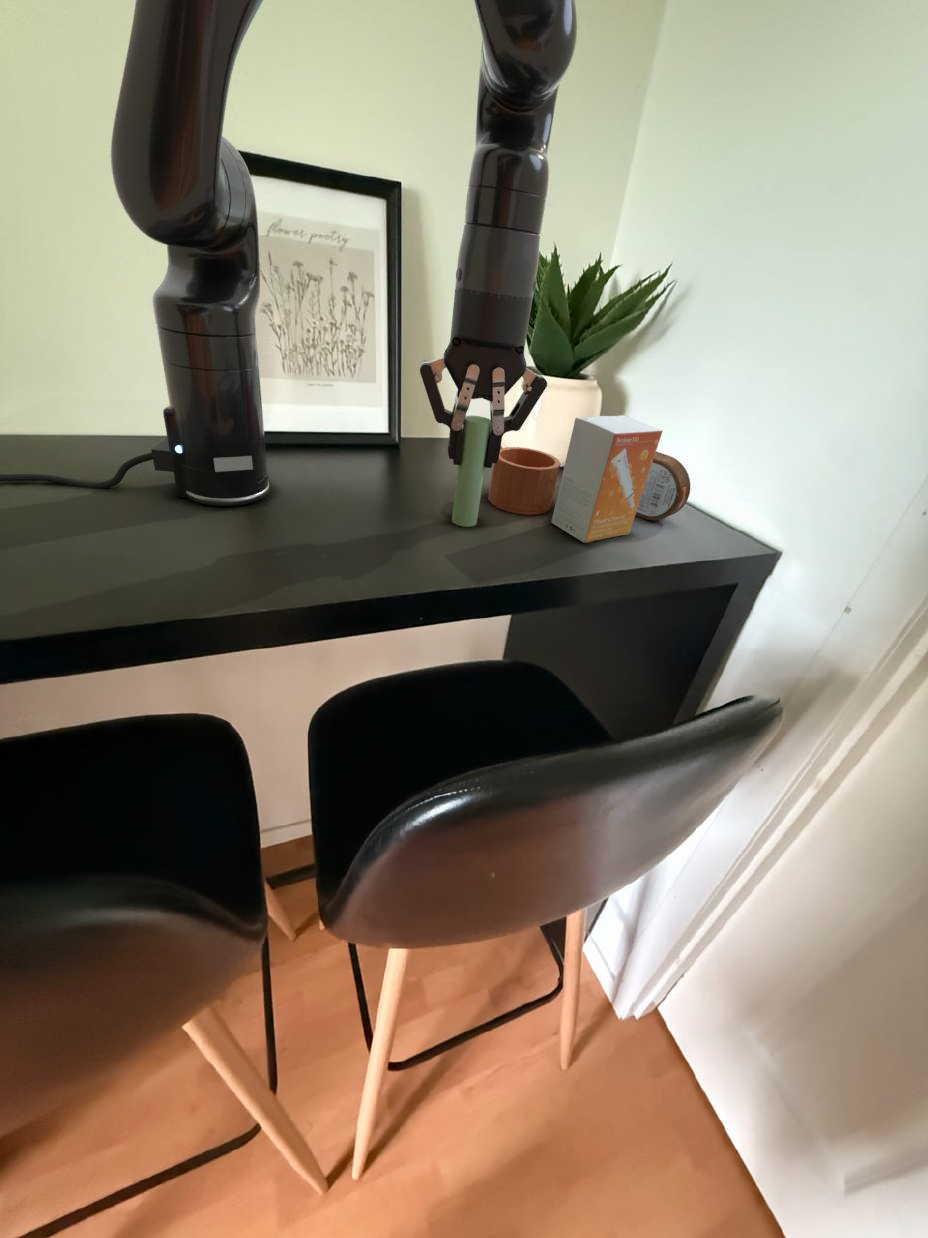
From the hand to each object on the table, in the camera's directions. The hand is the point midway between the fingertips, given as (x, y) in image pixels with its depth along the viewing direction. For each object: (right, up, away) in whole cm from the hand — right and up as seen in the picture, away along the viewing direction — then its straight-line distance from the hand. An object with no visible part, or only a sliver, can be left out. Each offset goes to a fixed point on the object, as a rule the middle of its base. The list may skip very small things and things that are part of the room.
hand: (471, 463), depth 62 cm
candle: (-1, -6, +4) cm, 7 cm away
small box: (+15, -6, +7) cm, 18 cm away
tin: (+21, -2, +14) cm, 26 cm away
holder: (+7, -2, +12) cm, 13 cm away
